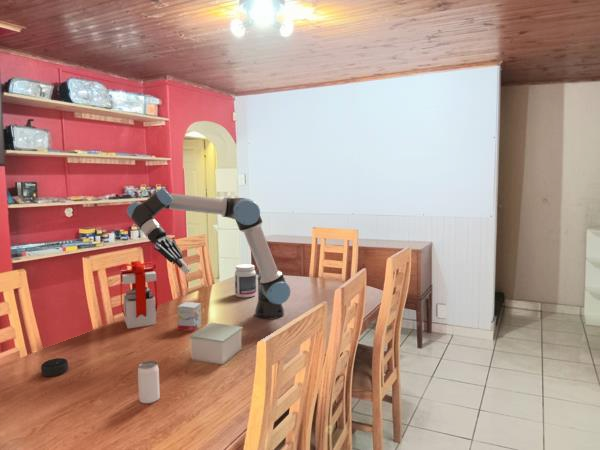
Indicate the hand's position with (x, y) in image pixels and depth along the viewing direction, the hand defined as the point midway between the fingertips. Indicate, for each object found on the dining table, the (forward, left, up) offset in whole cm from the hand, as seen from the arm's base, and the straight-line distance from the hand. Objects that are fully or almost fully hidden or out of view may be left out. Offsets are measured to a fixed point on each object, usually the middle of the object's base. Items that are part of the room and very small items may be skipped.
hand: (188, 271), depth 192 cm
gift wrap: (+26, -34, -32) cm, 54 cm away
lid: (-12, +14, -23) cm, 29 cm away
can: (+10, +47, -32) cm, 58 cm away
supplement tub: (-29, -74, -32) cm, 86 cm away
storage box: (-12, +14, -32) cm, 37 cm away
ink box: (+1, -21, -32) cm, 39 cm away
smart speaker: (+48, +19, -32) cm, 61 cm away
